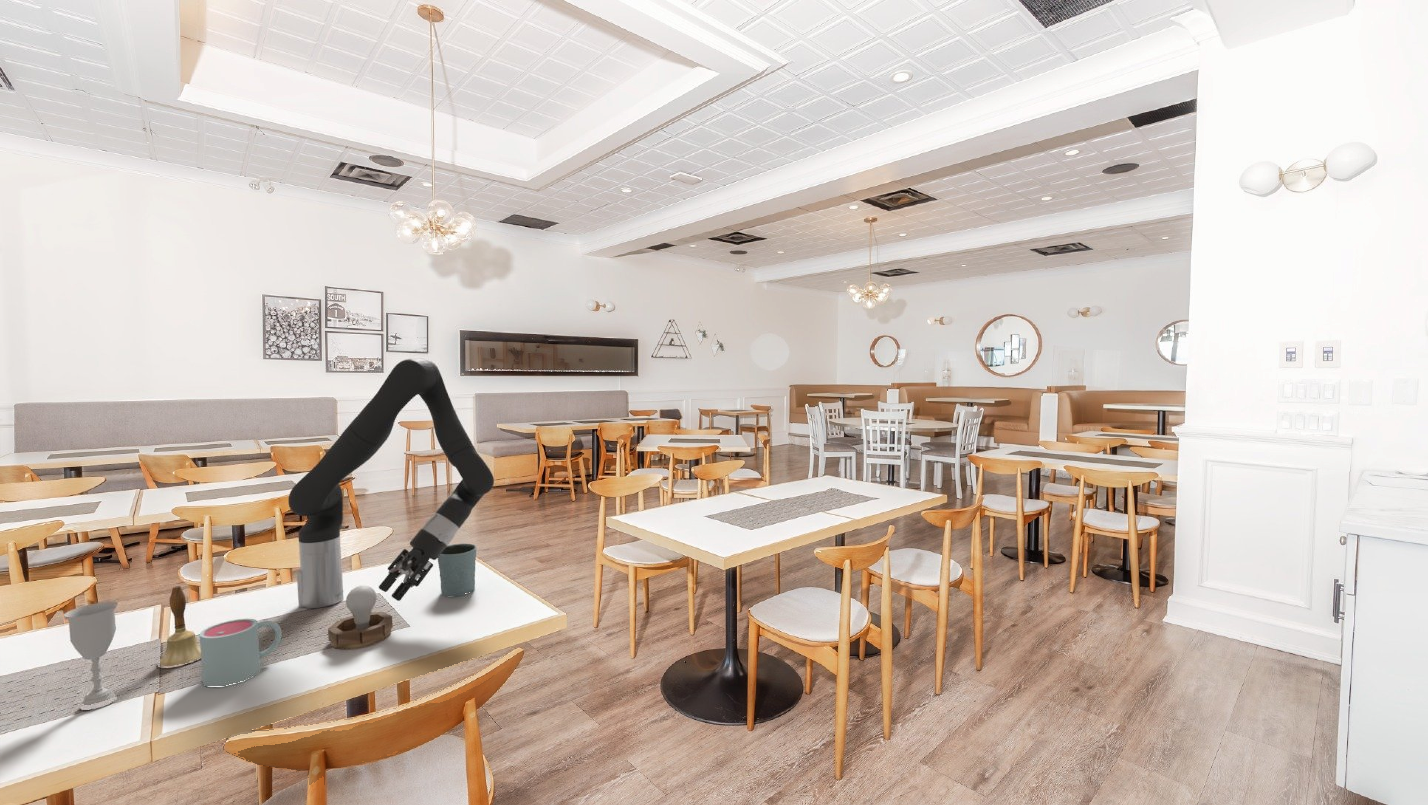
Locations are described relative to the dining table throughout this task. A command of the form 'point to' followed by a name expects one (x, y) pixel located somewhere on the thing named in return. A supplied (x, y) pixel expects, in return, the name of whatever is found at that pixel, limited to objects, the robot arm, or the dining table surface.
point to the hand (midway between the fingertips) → (388, 594)
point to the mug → (233, 650)
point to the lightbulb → (361, 605)
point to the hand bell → (180, 635)
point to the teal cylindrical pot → (457, 569)
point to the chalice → (93, 641)
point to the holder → (360, 632)
